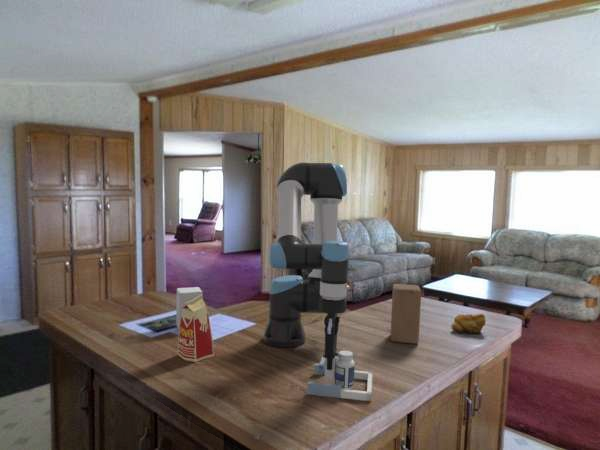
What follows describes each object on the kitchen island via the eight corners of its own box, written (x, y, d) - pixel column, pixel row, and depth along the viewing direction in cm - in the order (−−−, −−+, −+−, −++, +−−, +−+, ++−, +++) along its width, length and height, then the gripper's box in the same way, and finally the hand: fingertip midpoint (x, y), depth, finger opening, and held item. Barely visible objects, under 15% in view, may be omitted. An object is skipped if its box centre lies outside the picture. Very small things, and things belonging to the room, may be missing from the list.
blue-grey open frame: (307, 394, 122) (307, 383, 122) (318, 364, 142) (318, 355, 142) (342, 398, 120) (342, 387, 120) (348, 367, 141) (348, 358, 141)
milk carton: (197, 348, 153) (197, 290, 151) (215, 355, 147) (216, 295, 146) (174, 356, 146) (174, 295, 144) (192, 363, 140) (192, 300, 139)
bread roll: (455, 335, 176) (456, 315, 175) (445, 327, 186) (446, 308, 185) (487, 335, 177) (488, 315, 176) (476, 327, 187) (477, 308, 186)
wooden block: (418, 345, 163) (421, 290, 162) (390, 342, 165) (392, 288, 164) (417, 336, 173) (419, 284, 171) (390, 333, 175) (392, 283, 173)
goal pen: (340, 397, 120) (340, 390, 120) (344, 376, 134) (345, 369, 134) (370, 401, 119) (371, 393, 119) (372, 378, 133) (372, 372, 133)
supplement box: (202, 330, 173) (203, 291, 172) (178, 332, 170) (179, 293, 169) (198, 323, 182) (199, 286, 180) (176, 325, 178) (176, 287, 177)
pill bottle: (350, 382, 130) (352, 349, 129) (355, 390, 125) (357, 356, 124) (332, 382, 129) (334, 349, 129) (336, 391, 124) (338, 356, 123)
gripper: (344, 303, 119) (340, 390, 120) (348, 293, 131) (344, 371, 133) (316, 301, 120) (312, 387, 122) (323, 290, 133) (319, 369, 134)
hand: (329, 379), depth 127 cm, fingers closed
